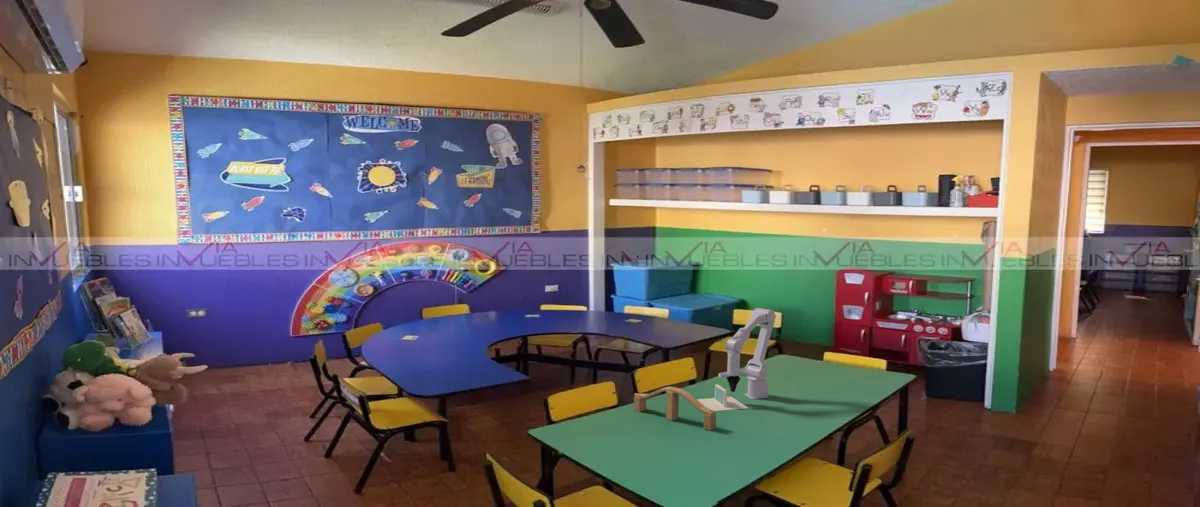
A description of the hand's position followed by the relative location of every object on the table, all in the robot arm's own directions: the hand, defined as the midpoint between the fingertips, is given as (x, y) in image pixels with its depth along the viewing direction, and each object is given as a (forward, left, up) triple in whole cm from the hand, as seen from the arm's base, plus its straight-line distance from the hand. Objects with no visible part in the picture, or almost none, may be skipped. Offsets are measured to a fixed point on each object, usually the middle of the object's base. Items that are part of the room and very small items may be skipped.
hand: (732, 391), depth 341 cm
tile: (+6, 0, -6) cm, 8 cm away
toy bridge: (+36, +13, -6) cm, 39 cm away
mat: (+7, 0, -6) cm, 9 cm away
